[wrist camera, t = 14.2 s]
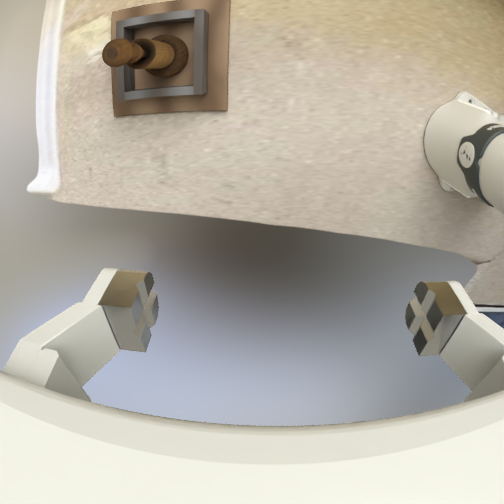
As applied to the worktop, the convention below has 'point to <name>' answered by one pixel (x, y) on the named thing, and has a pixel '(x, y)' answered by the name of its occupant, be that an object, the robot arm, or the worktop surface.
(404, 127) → the worktop surface
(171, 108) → the holder board
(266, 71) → the worktop surface
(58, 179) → the worktop surface
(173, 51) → the wooden pepper mill
